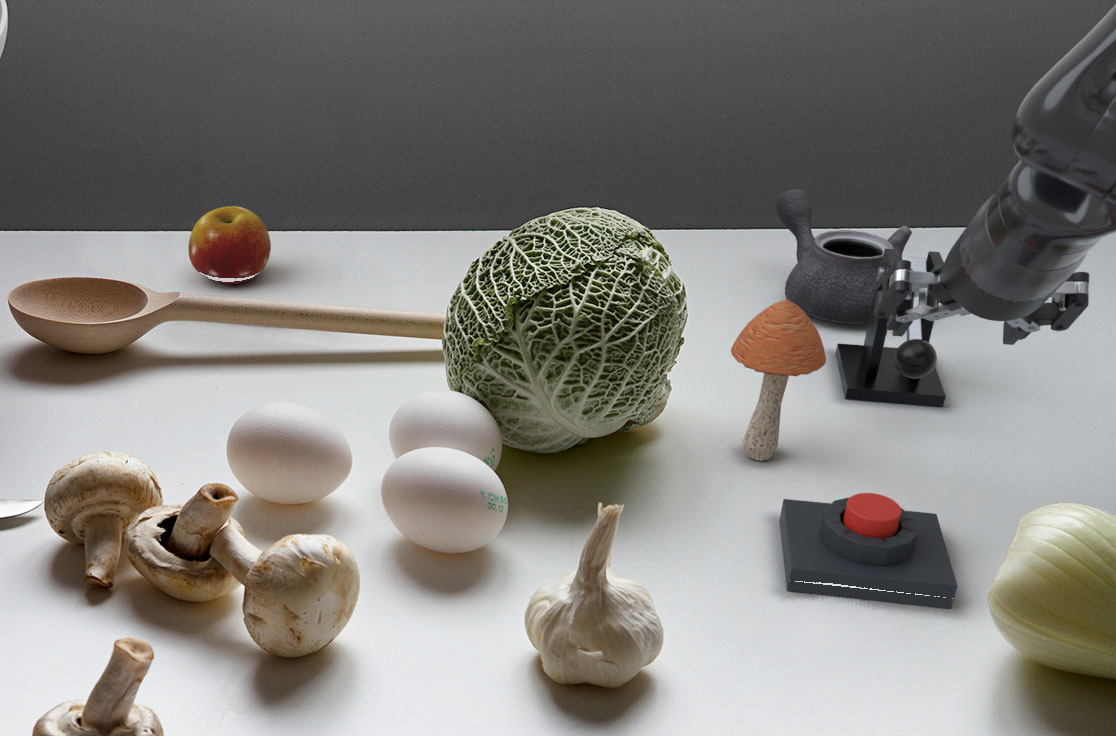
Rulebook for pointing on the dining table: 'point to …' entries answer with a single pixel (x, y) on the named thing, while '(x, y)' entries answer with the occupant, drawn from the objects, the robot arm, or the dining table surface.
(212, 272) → the fruit
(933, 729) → the dining table surface
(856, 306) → the teapot
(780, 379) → the mushroom
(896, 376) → the bracket
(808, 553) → the block
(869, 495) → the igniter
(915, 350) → the lever
